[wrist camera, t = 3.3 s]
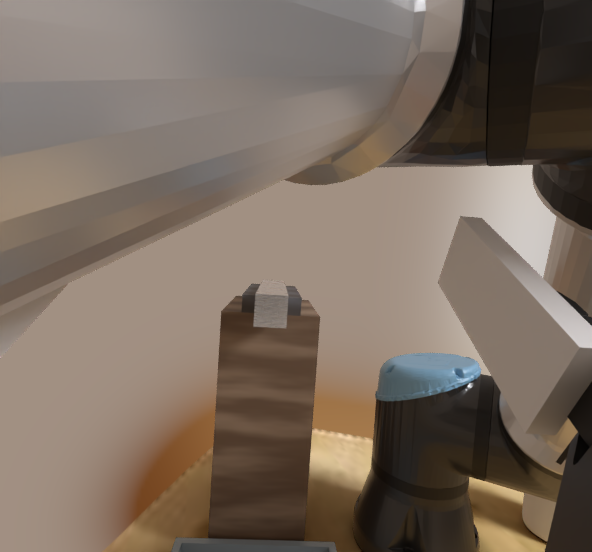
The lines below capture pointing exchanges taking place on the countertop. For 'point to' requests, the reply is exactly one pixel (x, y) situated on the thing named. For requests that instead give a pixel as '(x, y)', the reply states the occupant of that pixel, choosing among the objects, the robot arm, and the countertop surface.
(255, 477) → the walnut stand
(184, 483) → the countertop surface
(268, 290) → the steel bar
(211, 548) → the slate tray
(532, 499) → the pill bottle
